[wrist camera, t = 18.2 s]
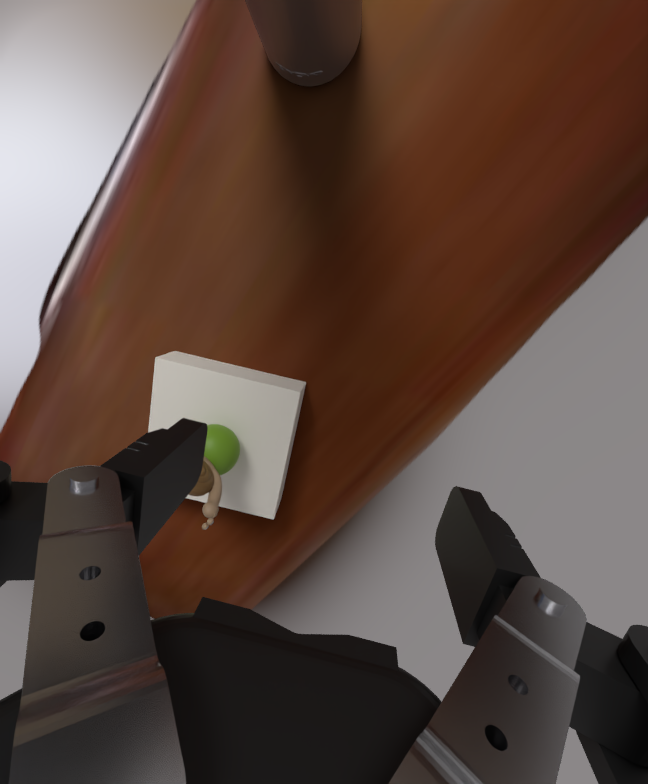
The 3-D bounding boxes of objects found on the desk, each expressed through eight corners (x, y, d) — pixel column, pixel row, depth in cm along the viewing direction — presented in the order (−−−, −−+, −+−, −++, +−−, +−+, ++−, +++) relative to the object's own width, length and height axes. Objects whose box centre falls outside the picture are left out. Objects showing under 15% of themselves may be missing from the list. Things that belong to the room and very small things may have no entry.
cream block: (177, 350, 45) (155, 357, 40) (306, 381, 44) (300, 392, 40) (164, 468, 49) (142, 487, 44) (282, 497, 49) (273, 519, 44)
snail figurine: (230, 476, 43) (188, 546, 32) (188, 438, 42) (128, 497, 31) (262, 446, 42) (230, 508, 30) (219, 407, 41) (169, 455, 29)
